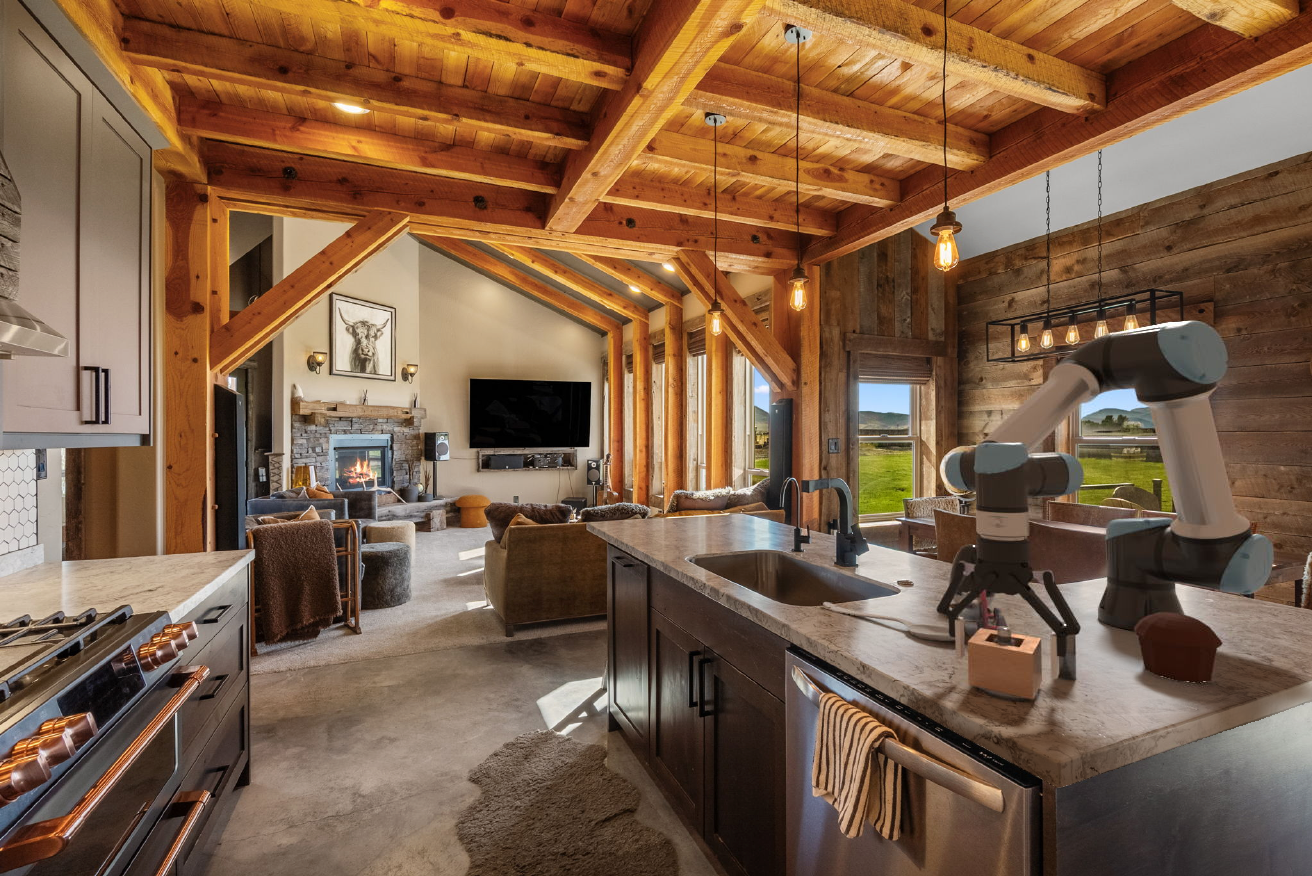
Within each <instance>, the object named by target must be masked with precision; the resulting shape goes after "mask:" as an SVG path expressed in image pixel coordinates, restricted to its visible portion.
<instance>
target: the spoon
mask: <svg viewBox="0 0 1312 876" xmlns="http://www.w3.org/2000/svg"><path fill="white" fill-rule="evenodd" d="M835 606H837V605H836V604H833V603H832V602H828V601H824V602H823V603H822V608H823V609H824V608H825V607H831V608H826V609H829V610H832V611H834V613H837V612H840V613H839V614H842V613H845V614H844V615H848V614H850V615H849V616H854V615H855V616H856V617H861V618H869V619H876V620H883V621H884V620H885V621H891V622H896V623H900V624H902V625H904V626H905V627H906V628H907V631H908V632H910V634H911V635H913V636H915V637H917V638H920V639H923V640H928V641H937V642H950V641H955V637H950V635H949V627H947V626H946V627H945V626H938V625H929V624H916V623H913V622H911V621H909V620H906V619H903V618H899V617H894V616H888V615H880V614H875V613H868V612H863V611H857V610H852V609H848V608H844V607H841V606H839V607H835ZM826 609H825V610H826ZM829 610H828V611H829ZM832 611H831V612H832ZM965 632H966V631H964V636H965V634H966V633H965Z"/></svg>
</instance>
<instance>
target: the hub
mask: <svg viewBox="0 0 1312 876" xmlns="http://www.w3.org/2000/svg"><path fill="white" fill-rule="evenodd" d="M1011 633H1012V628H1011V627H1009V626H1008V627H1004V626H999V627H997V638H994V643H998V644H1003V645H1009V646H1014V647H1015V641H1014V640H1012V639H1011ZM974 687H975V689H976V690H978V691H979V692H981V693H983V695H984V694H985V695H987V696H990V697H992V698H996V699H1000V700H1006V701H1011V702H1029V701H1033V700H1034V701H1035V700H1036V699H1037V698H1038V697H1039V689H1038V690H1037V693H1036V695H1035V697H1034V699H1029V698H1025V697H1020V696H1016V695H1011V694H1007V693H1003V692H998V691H994V690H990V689H985V688H981V687H976V686H974Z"/></svg>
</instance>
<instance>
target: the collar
mask: <svg viewBox="0 0 1312 876" xmlns="http://www.w3.org/2000/svg"><path fill="white" fill-rule="evenodd" d="M994 638H997V631H995V630H989V629H983V628H980V629H979V630H978V631H977V632H976V633H975V634H974V636H973V637H970V638H969V640H968V641H967V666H968V671H967V673H968V685H969V686H972V687H975V686H976V687H981V688H985V689H990V690H994V691H998V692H1003V693H1007V694H1011V695H1016V696H1020V697H1025V698H1029V699H1034V697H1035V695H1036V693H1037V690H1038V691H1039V688H1040V686H1041V684H1042V681H1043V673H1042V672H1043V670H1042V669H1043V668H1042V667H1043V662H1042V638H1041V637H1035V636H1028V635H1024V634H1017V633H1012V632H1011V639H1012V640H1014V641H1015V647H1014V646H1009V645H1003V644H998V643H994ZM976 687H975V688H976ZM1034 700H1035V699H1034Z"/></svg>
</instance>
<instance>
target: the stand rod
mask: <svg viewBox="0 0 1312 876" xmlns="http://www.w3.org/2000/svg"><path fill="white" fill-rule="evenodd" d="M1061 622H1062V624H1063V625H1066V624H1065V622H1064V621H1061ZM1076 639H1077V638H1076V635H1068V636H1067V653H1066V655H1065V657H1060V656H1059V675H1058V678H1059V679H1062V680H1066V681H1075V680H1077V650H1076V649H1077V647H1076V646H1077V644H1076V643H1077V642H1076Z"/></svg>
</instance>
